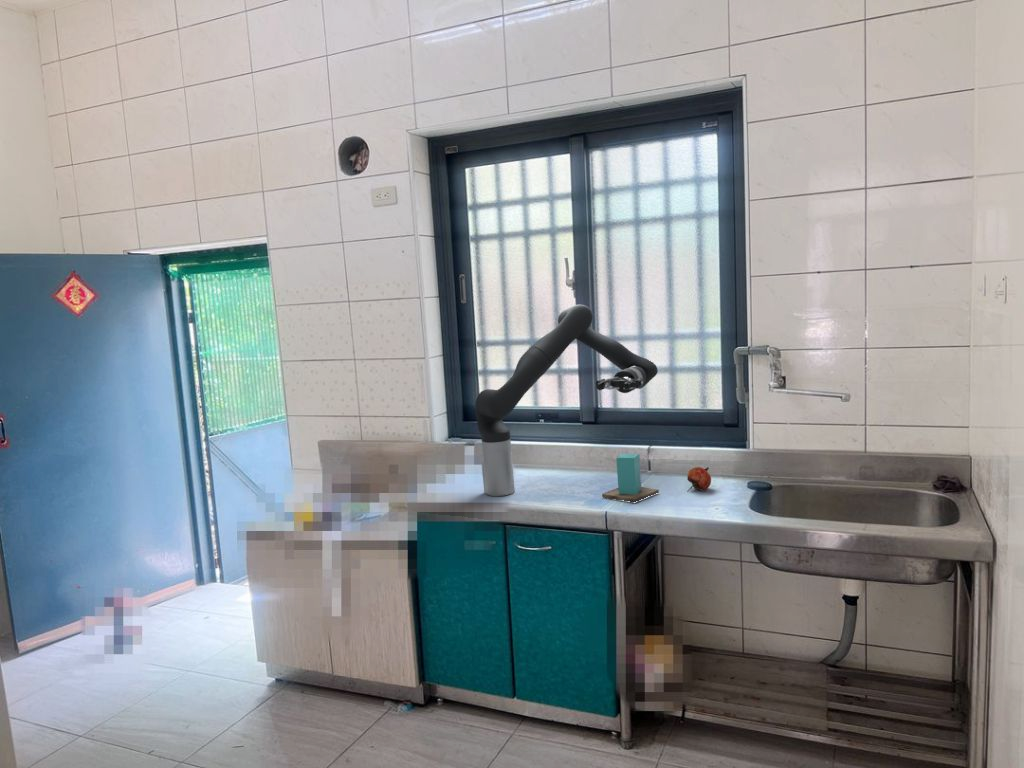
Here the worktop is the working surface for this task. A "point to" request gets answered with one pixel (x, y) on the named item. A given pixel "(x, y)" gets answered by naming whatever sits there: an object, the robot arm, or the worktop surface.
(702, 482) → the pomegranate
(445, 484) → the worktop surface
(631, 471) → the block
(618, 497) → the base plate
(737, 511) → the worktop surface
